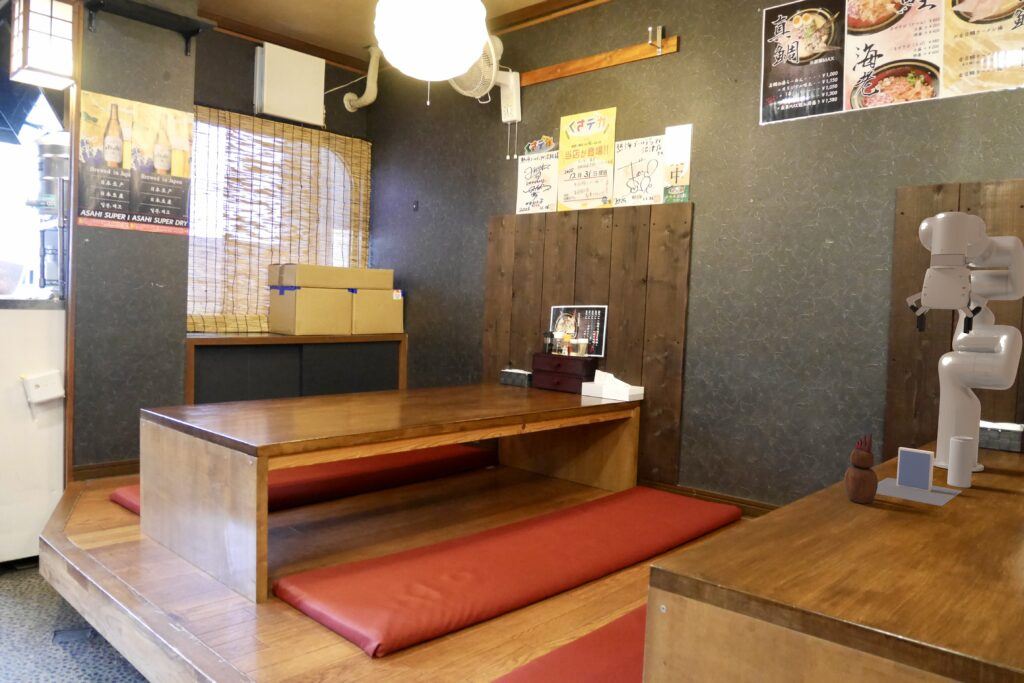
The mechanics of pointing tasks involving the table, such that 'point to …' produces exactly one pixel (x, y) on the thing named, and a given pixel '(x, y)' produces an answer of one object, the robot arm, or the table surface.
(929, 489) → the tile
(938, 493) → the mat
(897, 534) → the table surface
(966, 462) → the beverage can
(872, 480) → the wooden figurine
